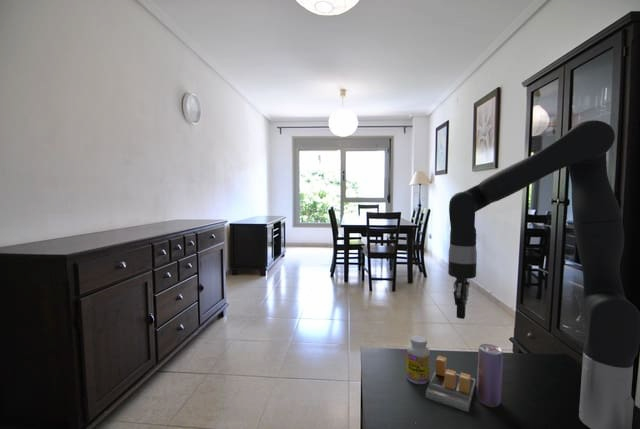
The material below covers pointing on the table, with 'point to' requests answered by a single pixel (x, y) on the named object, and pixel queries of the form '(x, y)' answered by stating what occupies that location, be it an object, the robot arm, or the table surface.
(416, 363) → the supplement bottle
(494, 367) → the beverage can
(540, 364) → the table surface
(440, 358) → the wooden block
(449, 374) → the paddle
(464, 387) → the tan upright block
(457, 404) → the tray
